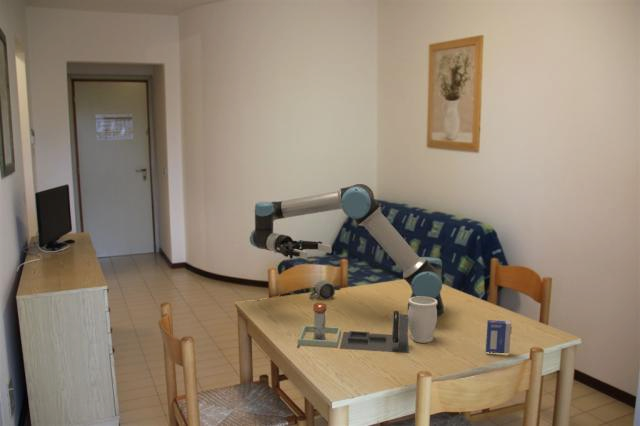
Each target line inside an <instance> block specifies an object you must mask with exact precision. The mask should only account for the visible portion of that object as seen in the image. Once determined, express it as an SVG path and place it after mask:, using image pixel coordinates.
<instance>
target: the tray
mask: <svg viewBox="0 0 640 426" xmlns="http://www.w3.org/2000/svg"><path fill="white" fill-rule="evenodd" d="M341 330H342V328H341V327H340V326H339V327H338V326H337V327H335V326H325V334H327V333H329V334H336V335H335V340H326V339H325V340H315V339H310V338H308V339H307V338H305V335H306V333H307V332H310V333H314V325H303V327H302V329H301V331H300V334H299V335H298V337H297V348H300V347H301V346H307V347H308V346H310V347H324V348H326V347H327V348H338V345H339V340H340V336H341V333H342V331H341Z"/></svg>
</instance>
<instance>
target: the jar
mask: <svg viewBox="0 0 640 426" xmlns="http://www.w3.org/2000/svg"><path fill="white" fill-rule="evenodd" d="M408 302H409V304H410V306H409V310H408V309H407V311H408V312H407V315H408V330H409V332H410V334H411V335H410V337H411V339H413V341H414V342H415V343H421V344H427V342H428V343H430V342H432V341H433V340H434V338H433V337H434V336H433V334H434V332H435V330H436V326H437V325H436V324H437V320H438V316H437V308H436V305H437V303H438V302H437V300H436V299H434V298H431V297H424V296H417V297H412V298H410V297H409V299H408Z"/></svg>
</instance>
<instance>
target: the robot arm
mask: <svg viewBox="0 0 640 426" xmlns="http://www.w3.org/2000/svg"><path fill="white" fill-rule="evenodd" d="M381 206H382V205H380V204H379V202H378V201H377V200H376V199H375V195H374V191H373V190H372V189H371V187H370V186H368V185H366V184H362V183H357V184H356V183H355V184H354V185H350V186H346V187H341V188H340V189H339V190H338V191H337V190H336V191H332V192H328V193H327V192H326V193H321V194H320V193H319V194H314V195H308V196H301V197H297V198H291V199H285V200H279V201H258V202H256V203H255V206H254V230H252V231H251V232H250V236H249V243H250V244H251V246H252V247H254V248H256V249H260V250H265V251H270V252H274V254H276V253H278V254H281V255H283V256H284V257H285V258H288V257H289V259H293V258H294V257H295V258H299V259H303V260H308V251H307V250H315V251H316V250H317V251H318V252H322V253H328V254H331V253H332V247H333V246H332V245H328V244H323V242H322V241H311V240H302V239H300V240H293V238H292V237H291V236H290V235H285V234H280V233H277V232H274V221H276V220H282V219H286V218H288V219H289V218H292V217H293V218H294V217H299V216H305V215H311V214H312V215H313V214H319V213H325V212H330V211H332V212H333V211H338V210H342V211H343V213H344V214H345V215H346V216H347V217H349V218H351V219H352V220H353V221H354V222H355V224H357V225H358V226H363V227H364V228H365V229H366V230H367V231H368V232H369V233H370V235H371V236H372V237H373V238H374V239H375V240H376V242H378V244H379V245H380V246H381V248H382V249H383V250H384V251H385V252H386V253H387V255H388V256H389V257H390V258H391V259H392V260H393V261H394V263H395V264H396V266H398V268H400V270H401V271H402V273H403V274H402V277H403V279H404V281H405V282H407V284H408V285H409V286H410V288H411V294H410V297H409V299H410V298H412V297H417V296H424V297H431V298H434V299H436V300H437V302H438V303H437V305H436V308H437V317H439V316H442V314H444V311H445V306H444V303H443V299H442V296H441V291H442V288H443V280H442V279H443V278H442V269H443V268H442V267H443V263H442V262H443V261H442V259H440V258H439V257H429V256H419V255H418V254H417V252H415V250H414V249H413V248H412V247H411V246H410V245H409V244H408V242H407V241H406V240H405V238H404V237H402V235H401V234H400V233H399V232H398V230H397V229H396V228H395V227H394V226H393V224H391V223H390V221H389V220H388V219H387V218H386V217H385V216H384V214H383V213H382V211H381V209H382V207H381ZM305 250H306V251H305ZM409 306H410V304H409V301H408V302H407V311H408V310H409Z"/></svg>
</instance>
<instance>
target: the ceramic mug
mask: <svg viewBox="0 0 640 426" xmlns="http://www.w3.org/2000/svg"><path fill="white" fill-rule="evenodd" d="M335 292H336V289H335V286H334V285H333V284H332V283H330V282H329V281H326V280H319V281H318V282H317V283H316V284H315V287H314V291H312V292H310V293H309V298H310V299H311V300H316V299H318V298H320V299H322V300H324V301H329V300H331V299H332V298H333V297H334V295H335V294H336V293H335Z"/></svg>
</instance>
